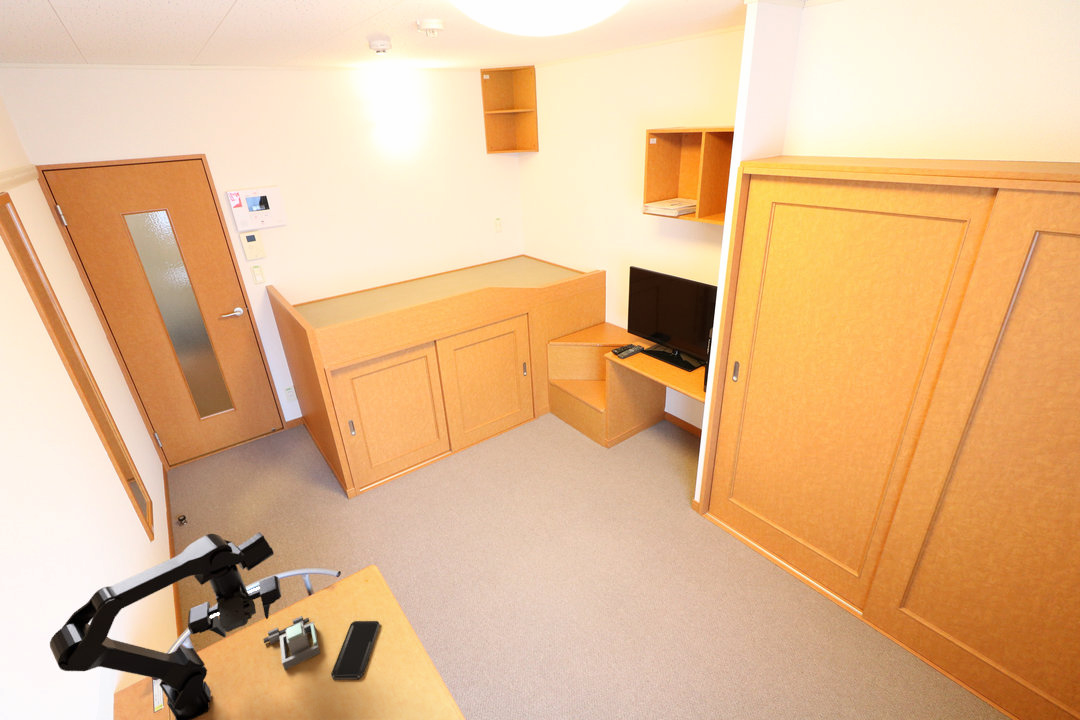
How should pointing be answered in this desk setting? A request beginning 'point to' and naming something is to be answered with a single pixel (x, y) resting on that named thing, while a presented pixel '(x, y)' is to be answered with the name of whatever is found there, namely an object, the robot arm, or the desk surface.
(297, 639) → the block
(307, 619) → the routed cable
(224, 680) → the desk surface
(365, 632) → the phone
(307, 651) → the frame
